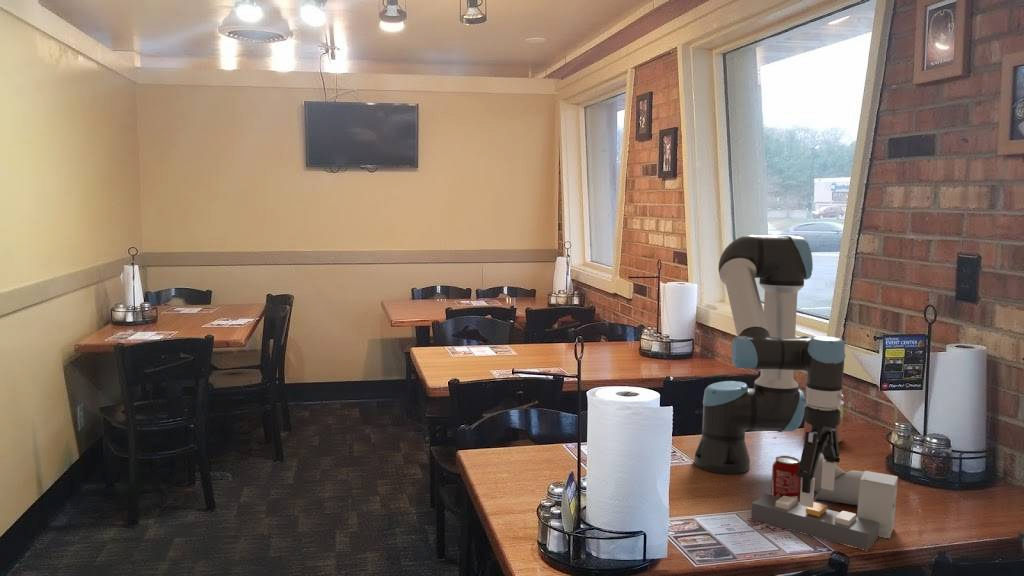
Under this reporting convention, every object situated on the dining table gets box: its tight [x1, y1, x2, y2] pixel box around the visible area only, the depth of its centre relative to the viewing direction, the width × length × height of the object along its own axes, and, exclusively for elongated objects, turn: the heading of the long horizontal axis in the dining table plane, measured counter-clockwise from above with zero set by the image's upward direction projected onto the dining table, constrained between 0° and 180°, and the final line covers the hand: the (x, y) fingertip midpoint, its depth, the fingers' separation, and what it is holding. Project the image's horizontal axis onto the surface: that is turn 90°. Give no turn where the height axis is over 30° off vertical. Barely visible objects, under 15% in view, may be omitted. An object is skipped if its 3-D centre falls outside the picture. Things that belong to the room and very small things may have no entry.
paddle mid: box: [806, 501, 828, 517], centre depth 185 cm, size 3×5×1 cm, turn 141°
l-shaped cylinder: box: [799, 454, 864, 507], centre depth 207 cm, size 18×10×20 cm
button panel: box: [750, 493, 879, 551], centre depth 186 cm, size 26×8×5 cm, turn 50°
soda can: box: [770, 455, 801, 502], centre depth 199 cm, size 7×7×12 cm
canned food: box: [802, 399, 845, 443], centre depth 256 cm, size 11×11×12 cm
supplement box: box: [856, 470, 899, 540], centre depth 185 cm, size 7×7×13 cm
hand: (817, 497), depth 185 cm, fingers open, 13 cm apart
